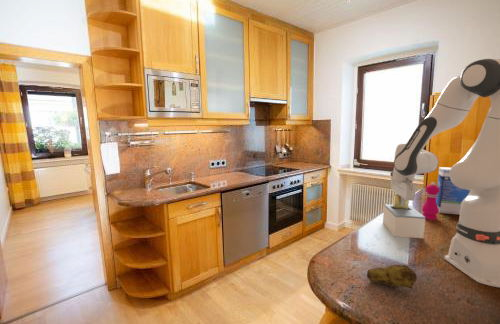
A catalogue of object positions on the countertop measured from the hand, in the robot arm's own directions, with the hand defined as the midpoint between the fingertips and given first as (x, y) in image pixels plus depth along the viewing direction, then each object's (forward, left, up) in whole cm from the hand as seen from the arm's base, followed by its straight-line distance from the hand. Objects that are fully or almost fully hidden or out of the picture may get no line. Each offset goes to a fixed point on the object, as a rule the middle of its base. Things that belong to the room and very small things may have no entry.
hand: (400, 203), depth 121 cm
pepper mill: (+17, -21, -12) cm, 30 cm away
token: (0, 0, -2) cm, 2 cm away
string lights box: (+29, -37, -12) cm, 49 cm away
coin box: (-3, 0, -12) cm, 13 cm away
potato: (-50, +20, -12) cm, 55 cm away
